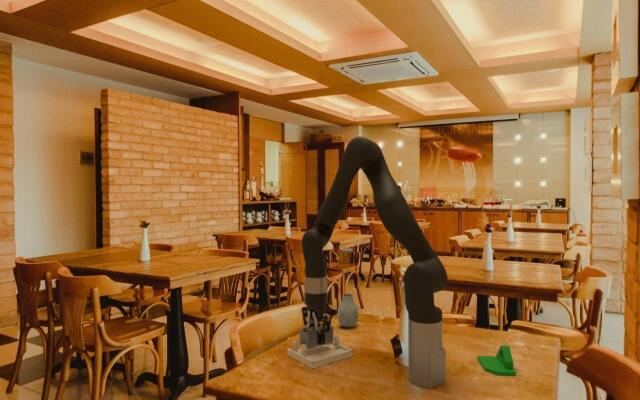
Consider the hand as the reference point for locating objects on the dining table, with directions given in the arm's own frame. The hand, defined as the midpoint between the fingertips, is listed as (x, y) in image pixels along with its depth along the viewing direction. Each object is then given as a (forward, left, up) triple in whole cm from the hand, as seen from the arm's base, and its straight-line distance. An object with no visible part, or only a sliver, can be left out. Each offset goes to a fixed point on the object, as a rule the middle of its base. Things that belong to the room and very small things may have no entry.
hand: (316, 341), depth 146 cm
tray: (-2, 0, -4) cm, 4 cm away
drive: (0, 0, -1) cm, 1 cm away
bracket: (-42, -35, -4) cm, 55 cm away
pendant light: (+15, -26, -4) cm, 30 cm away
